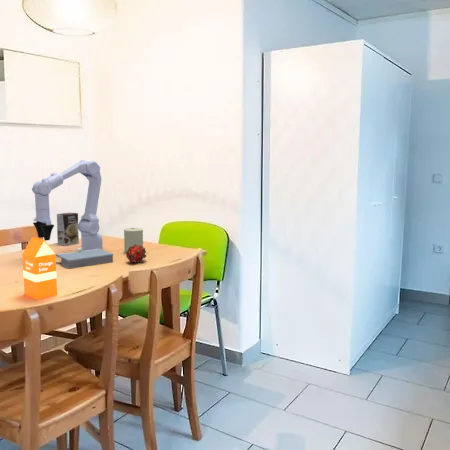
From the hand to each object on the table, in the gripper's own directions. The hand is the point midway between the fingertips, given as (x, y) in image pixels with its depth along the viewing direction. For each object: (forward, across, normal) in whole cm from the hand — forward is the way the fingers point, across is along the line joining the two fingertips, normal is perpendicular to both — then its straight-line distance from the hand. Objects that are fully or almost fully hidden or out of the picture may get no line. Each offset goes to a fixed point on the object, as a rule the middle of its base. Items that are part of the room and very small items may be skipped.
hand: (44, 238), depth 220 cm
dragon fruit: (+10, +27, +31) cm, 43 cm away
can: (+10, +9, +40) cm, 42 cm away
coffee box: (+10, -29, +22) cm, 38 cm away
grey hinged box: (+10, +17, +13) cm, 23 cm away
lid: (+7, +14, +13) cm, 20 cm away
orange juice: (+10, +50, -19) cm, 54 cm away
